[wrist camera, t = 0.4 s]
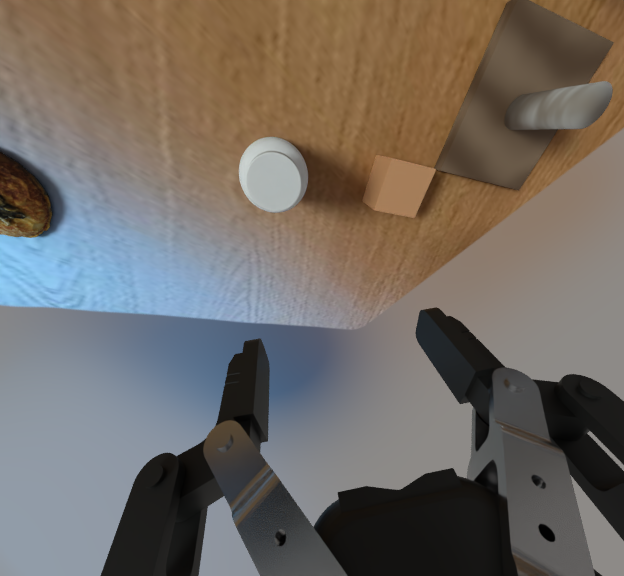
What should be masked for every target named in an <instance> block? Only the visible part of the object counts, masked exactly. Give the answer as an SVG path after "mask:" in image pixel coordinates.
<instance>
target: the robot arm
mask: <svg viewBox="0 0 624 576" xmlns="http://www.w3.org/2000/svg"><path fill="white" fill-rule="evenodd" d="M416 338H417V341H418V343H419V345H420V346H421V347H422V349H423V350H424V352H425V353H426V355H427V356H428V358H429V359H430V361H431V362H432V363H433V365H434V367H435V368H436V370H437V371H438V373H439V374H440V375H441V377H442V378H443V380H444V381H445V383H446V384H447V386H448V387H449V389H450V390H451V392H452V393H453V395H454V396H455V398H456V399H457V401H458V402H459V403H460V404H463V403H467V402H470V403H471V404H472V406H473V407H474V408H473V410H472V447H471V459H470V462H469V466H468V471H467V479H466V478H463V477H459V476H457V475H456V473H455V471H454V469H453V468H451V469H446V470H441V471H436V472H432V473H427V474H424V475H423V476H421V477H420V478H418V479H416V480H415V481H413V482H412V483H410V484H409V485H407V486H406V487H404V488H403V489H401V490H392V489H384V488H376V487H368V486H365V487H361V488H356V489H351V490H346V491H342V492H338V497H339V499H338V500H337V501H335V502H334V503H332V504H331V505H330V506H329V507H328V508H327V509H326V510H325V511H324V512H323V513H322V515H321V516H320V517H319V519H318V520H317V522H316V523H315V525H314V527H313V526H312V525H311V523H310V522H309V520H308V519H307V518H306V516H305V515H304V513H303V512H302V511H301V509H300V508H299V506H298V505H297V504H296V502H295V501H294V499H293V498H292V497H291V495H290V494H289V492H288V491H287V489H286V488H285V487H284V485H283V484H282V482H281V481H280V479H279V478H278V477H277V475H276V474H275V473H274V471H273V470H272V469H271V468H270V466H269V465H268V464H267V462H266V461H265V459H264V458H263V457H262V455H261V454H260V444H261V443H262V442H267V441H268V412H269V411H268V410H269V361H268V357H267V354H266V351H265V348H264V346H263V343H262V340H261V339H254V340H249V341H245V342H244V347H243V353H240V354H235V355H234V357H233V359H232V360H231V362H230V363H229V366H228V372H227V377H226V381H225V387H224V391H223V397H222V401H221V406H220V411H219V416H218V421H217V423H216V426H215V427H214V429H212V430H211V432H210V433H209V434H208V436H207V438H206V439H205V440H204V441H203V442H201V443H200V444H198V445H196V446H195V447H193V448H191V449H189V450H188V451H185V452H183V453H182V454H180V455H178V456H175V455H173V454H171V453H163V454H160V455H158V456H156V457H154V458H153V459H151V460H150V461H149V462H148V463H147V464H146V465H145V466H144V467H143V468H142V469H141V471H140V472H139V474H138V475H137V477H136V479H135V481H134V484H133V487H132V489H131V492H130V495H129V498H128V501H127V503H126V507H125V509H124V512H123V515H122V517H121V520H120V523H119V526H118V529H117V531H116V534H115V537H114V540H113V543H112V545H111V548H110V551H109V554H108V557H107V559H106V562H105V565H104V568H103V571H102V573H101V576H198V575H199V567H200V560H201V552H202V545H203V538H204V530H205V523H206V516H207V508H208V506H209V505H210V504H212V503H214V502H215V501H217V500H218V499H220V498H221V497H223V496H225V498H226V500H227V502H228V504H229V506H230V508H231V511H232V518H233V520H234V523H235V525H236V528H237V530H238V532H239V534H240V535H241V538H242V540H243V542H244V544H245V546H246V548H247V550H248V552H249V554H250V556H251V558H252V560H253V562H254V564H255V566H256V568H257V570H258V572H259V574H260V576H602V575H600V574H599V573H598V572H597V571H595V570H594V569H593V565H592V561H591V557H590V553H589V549H588V545H587V541H586V537H585V533H584V529H583V525H582V521H581V517H580V513H579V509H578V505H577V501H576V497H575V493H574V488H573V484H572V480H571V476H572V477H573V478H574V480H575V481H576V482H577V483H578V485H579V486H580V487H581V488H582V490H583V491H584V492H585V493H586V495H587V496H588V497H589V498H590V500H591V501H592V502H593V503H594V505H595V506H596V507H597V508H598V509H599V511H600V512H601V513H602V514H603V516H604V517H605V518H606V519H607V521H608V522H609V523H610V524H611V526H612V527H613V528H614V529H615V531H616V532H617V533H618V534H619V535H620V537H621V538H622V539H623V540H624V471H623V470H622V469H621V468H620V467H619V466H618V465H617V464H616V463H615V462H614V461H613V460H612V459H611V458H610V457H609V456H608V455H607V453H605V451H604V450H603V449H602V448H601V447H600V446H599V445H598V444H597V443H596V442H595V441H594V440H593V439H592V438H591V437H590V436H589V435H588V434H587V433H588V432H589V431H591V432H592V433H593V434H594V435H595V436H596V437H597V438H598V439H599V440H600V441H601V442H602V443H603V444H604V445H605V446H606V447H607V448H608V449H609V450H610V451H611V452H612V453H613V454H614V455H615V456H616V457H617V458H618V459H619V460H620V461H621V462H622V463H623V465H624V401H622V400H621V399H620V398H619V397H618V396H616V395H615V394H614V393H613V392H612V391H610V390H609V389H608V388H606V387H605V386H604V385H602V384H600V383H599V382H597V381H595V380H593V379H591V378H588V377H585V376H581V375H576V374H570V375H566V376H564V377H563V378H562V379H561V380H560V382H550V381H542V380H541V381H540V380H532V379H531V378H529V377H528V376H527V375H525V374H524V373H522V372H520V371H518V370H515V369H511V368H506V367H505V366H503V365H502V364H501V362H500V361H498V359H497V358H496V357H495V356H494V355H493V354H492V353H491V352H490V351H489V350H488V349H487V348H486V347H485V346H484V345H483V344H482V343H481V342H480V341H479V340H478V339H476V337H475V336H474V335H473V334H472V333H471V332H469V330H468V329H467V328H466V327H465V326H464V325H463V324H462V323H461V322H460V321H458V320H456V319H455V318H453V317H451V316H446V315H445V314H444V313H443V312H442V311H441V310H440V309H439V308H431V309H425V310H421V311H420V313H419V318H418V323H417V328H416ZM570 475H571V476H570Z"/></svg>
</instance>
